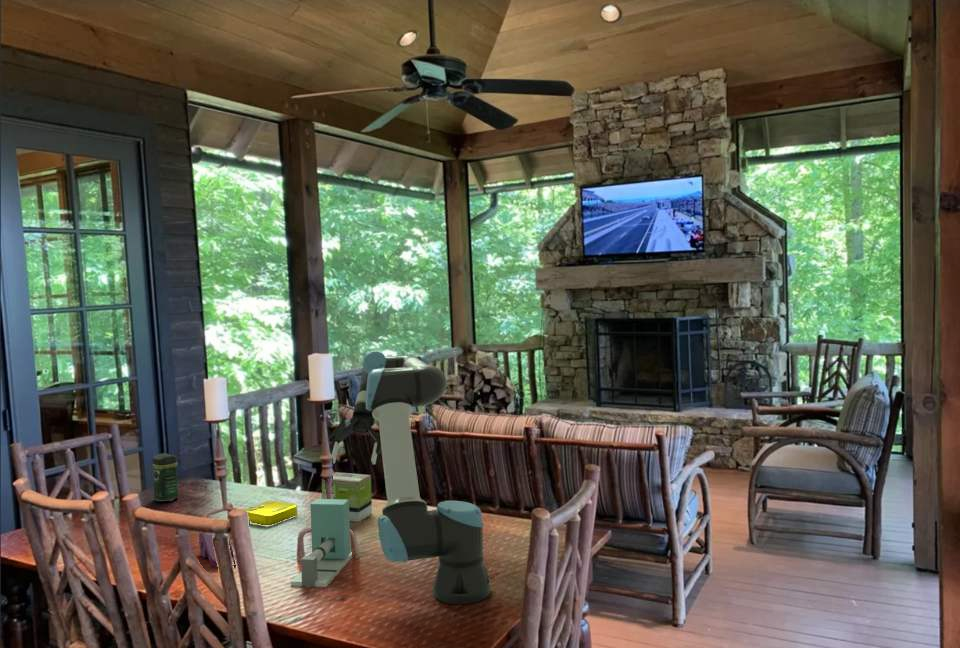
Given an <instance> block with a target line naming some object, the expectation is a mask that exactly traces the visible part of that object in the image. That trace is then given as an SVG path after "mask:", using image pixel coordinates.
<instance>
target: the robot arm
mask: <svg viewBox="0 0 960 648" xmlns="http://www.w3.org/2000/svg"><path fill="white" fill-rule="evenodd" d="M361 371H362V372H361V377H360V384H359V389H358V393H357V396H356V400H355V404H354V408H353V412H352V416H351V418H347V417H346V416H343V417H342V419H341V421H340V423H339V424H337V426H336V428H334V429H333V431H332V432H331V433H330V435H329V436H328V437H329V441H328V442H329V444H330V445H331V446H330V450H329V451H330V453H331V455H332V457H333V463H332V464H336V461H337V457H338V454H339V453H338V452H339V451H340V450H339V449H340V445H339V444H341V442H344V440H346V438H347V437H349V436H350V435H351V434H355V432H357V433H358V432H359V433H360V432H362V433H366V432H367V431H368V433H369V434H370V436H371V437H372V438H373V440H374V441H375V442H374V445H373V449H372V453H371V458H370V459H371V460H370V461H371V463H372V465H376V463H377V457H378V455H380V454H381V457H382V466H383V472H384V476H383V477H384V482H385V484H384V485H385V492H386V493H385V494H386V502H387V503H386V504H385V505H384V507H383V508H382V515H380V516H379V517H378V518H377V529H378V537H379V542H380V547H381V549H382V552H383V553H382V554H383V555H384V557H385V559H386V560H387V561H388V562H390V563H400V562H403V563H406V562H408V561H409V562H411V561H415V560H417V561H418V560H424V559H431V558H437V557H438V566H437V570H436V575H435V578H434V581H433V584H432V594H433V597H434V598H435V599H436V600H438V601H440V602H442V603H446V604H449V605H450V604H451V605H452V604H453V605H466V604H467V605H468V604H473V603H477V602H480V601H483V600H485V599H486V598H488V597H489V596H490V595H491V592H492V591H491V590H492V588H491V587H492V586H491V585H492V584H491V581H490V578H489V574H488V571H487V569H486V565H485V563H484V536H483V535H484V532H483V531H484V530H483V527H484V523H483V515H482V511H481V508H480V507H479V506H477V505H476V504H473V503H470V502H467V501H461V500H444V501H440V502H439V503H438V504H437V506H436V509H434V510H428V505H427V502H426V501H425V500H424V499H422V498H421V496H420V489H419V488H420V487H419V482H418V480H419V479H418V475H417V468H416V459H415V452H414V451H415V450H414V446H413V443H414V442H413V437H412V429H411V424H410V423H411V422H410V416H411V415H412V414H413V412H414V408H417V407H418V408H419V407H424V406H428V405H431V404H433V403H435V402H436V401H437V400H439V399H440V398H441V397H442V396H443V395H444V394H445V391H446V389H447V384H448V383H447V377H446V375H445V373H444V372H443V370H441V369H440V368H439V367H437V366H435V365H428V359H427V357H426V355H424V354H411V355H396V356H395V355H390V356H389V355H388V356H387V355H386V356H385V354H384V353H383V352H381V351H378V350H371V351H369V352H367V353H366V354H365V356H364V358H363V362H362V368H361ZM374 425H376V427H378V429H379V430H378V431H379V435H378V434H377V433H376V431H375V430H374V428H373V426H374Z"/></svg>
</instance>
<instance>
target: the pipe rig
mask: <svg viewBox="0 0 960 648" xmlns="http://www.w3.org/2000/svg"><path fill="white" fill-rule="evenodd" d="M334 546H335V538H330V537H327V539H326V540H325V541H324V542H323V543H322V544H321V545H320V546H319V547H317V548H316V549H314V551H313V553H312V552H311V553H310V555H304V556H303V557H302V558H301V559H300V565H301V566H300V567H301V568H300V569H301V571H300V572H299V573H298V574H297V575H296V576H295V577H294V578H293V579H292V580H290V586H291V585H292V586H291V587H302V586H308V587H307V588H315V586H316V588H327V587H328V586H329V585H330V584H331V583H332V581H334V579H335V578H336V577H337V576H338V575H339V573H340V572H341V571H342V570H343V569H344V568H343V567H345V566H347V564H348V563H349V562H350V561H351V560H350V558H351V557H352V552H351V553H350V554H349V555H348V556H347V557H346V558H345V559H332V558H324V557H325V555H326V554H327V553H328V552H329V551H330V550H331V549H332V548H333V547H334ZM352 558H353V557H352ZM352 558H351V559H352ZM349 560H350V561H349ZM348 561H349V562H348ZM347 562H348V563H347ZM346 563H347V564H346ZM342 568H343V569H342ZM341 569H342V570H341ZM340 570H341V571H340ZM335 576H336V577H335ZM334 577H335V578H334ZM328 584H329V585H328Z"/></svg>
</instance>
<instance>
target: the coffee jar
mask: <svg viewBox="0 0 960 648" xmlns="http://www.w3.org/2000/svg"><path fill="white" fill-rule="evenodd" d="M152 470H153V499H154V498H155V499H158V500H166V499H172V498H177V497H178V496H179V483H178V457H177V456H176V455H174V454H169V453H166V452H163V453H157V454H155V455H154V456H153V457H152ZM178 498H179V497H178Z"/></svg>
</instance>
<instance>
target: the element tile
mask: <svg viewBox="0 0 960 648" xmlns="http://www.w3.org/2000/svg"><path fill="white" fill-rule="evenodd" d="M244 509H245V510H247V512H248V516H249V525H251V524H250V521H251V522H252V523H257V524H261V525H272V524H275V523H278V522H280V521H283V520H285V519H288V518H290V517H293V516H296V515H297V516H298V505H297V504H295V503H289V502H285V501H280V500H279V501H278V500H272V499H271V500H267V501H264V502H261V503H258V504H255V505H252V506H248V507H246V508H244Z"/></svg>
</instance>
